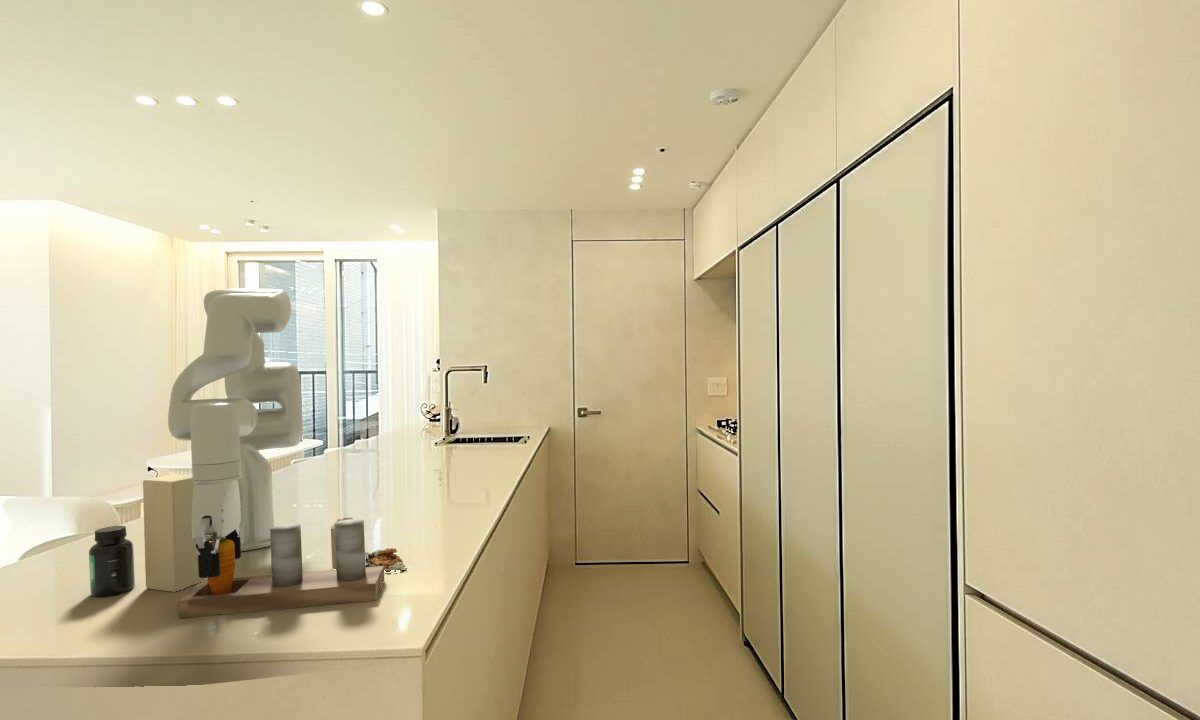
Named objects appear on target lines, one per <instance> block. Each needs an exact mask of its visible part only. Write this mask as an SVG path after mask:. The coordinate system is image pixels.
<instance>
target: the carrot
mask: <svg viewBox="0 0 1200 720" xmlns="http://www.w3.org/2000/svg"><path fill="white" fill-rule="evenodd" d="M224 538H225V537H224ZM224 538H222V539H220V541H219V545H218V549H217V553H218V552H219V554H220V575H219V576H218V577H208V578H207V580H208V582H209V586H210V589H211V591H212V593H213V595H218V594H229V593H230V590H231V587H232V583H233V578H234V576H235V569H236V568H235V567H236V566H235V565H236V564H235V563H236V559H235V545H234V542H233V541H232V540H229V539H224ZM210 544H211V545H212V544H213V541H210Z"/></svg>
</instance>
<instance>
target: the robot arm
mask: <svg viewBox="0 0 1200 720" xmlns="http://www.w3.org/2000/svg"><path fill="white" fill-rule="evenodd" d="M203 308H204V311H205V314H206V326H205V335H204V341H203V342H204V343H203V352H202V354H201V355H199V356H198V357H197V358H195V359H194V360H193V361H192V362H190V363H188V365H187V366H186V367H185V368H184V369H183V370H182V371H181V373H179V375H178V376H177V377H176V378H175V381H174V383H173V385H172V387H171V394H170V400H169V407H168V413H167V414H168V415H167V427H168V430H169V433H170V434H171V436H172V437H173V438H175V439H176V440H179V441H185V442H189V441H190V447H191V448H190V449H191V475H192V479H193V480H192V481H193V483H194V484H195V485H194V491H193V500H192V539H193V540H194V541H196V548H197V555H198V571H199V577H200V578H205V579H206V578H208V577H218V576H219V575H220V554H219V552H218V553H217V549H218V545H219V541H220V539H222V538H224V539H229V540H232V541H233V542H234V545H235V560H239V559H241V557H242V552H245V551H251V550H259V549H263V548H266V547H267V548H268V547H271V542H270V528H272V527H274V526H275V520H274V499H273V498H274V497H273V496H274V495H273V471H272V466H271V464H270V462H269V461H268V460H267V459H266V458H265V456H263V454H261V453H260V452H259V451H261V450H262V451H263V450H272V449H281V448H282V449H284V448H285V449H286V448H292V447H295V446H296V447H297V446H298V445H299V444H300V443H301V442H302V440H303V434H304V421H303V420H304V419H303V402H302V400H303V399H302V397H303V396H302V385H301V376H300V372H299V370H298V368H297V367H296V365H294V364H293V363H290V362H285V361H284V362H282V361H281V362H267V361H266V357H265V343H264V340H263V338H262V337H261V335H260V334H268V333H269V334H270V333H273V334H274V333H275V334H276V333H282V332H283V331H284V330H285V329H286V327H287V325H288V323H289V321H290V320H291V319H290V318H291V314H292V304H291V300H290V297H289V295H288V294H287V292H286V291H285V290H283V289H281V288H280V289H276V288H275V289H273V288H224V289H223V288H222V289H213V290H211V291H209V292H207V293H206V294H205V295H204V297H203ZM223 378H224V390H225V396H226V397H227V398H208V399H206V398H204V399H192V398H193V397H194V395H195V394H196V393H197V392H198V391H199V390H200V389H202V388H204V387H206V386H207V385H209V384H211V383H215V382H217V381H219V380H220V379H223ZM272 403H273V404H279V405H280V406H281V407H276V408H275V407H274V408H257V407H256V406H255V405H254V404H272ZM212 541H213V544H212V545H211V544H210V542H212Z"/></svg>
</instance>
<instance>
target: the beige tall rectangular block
mask: <svg viewBox="0 0 1200 720" xmlns="http://www.w3.org/2000/svg"><path fill="white" fill-rule="evenodd" d="M192 480H193V479H192V474H179V473H173V474H166V475H162V476H156V477H150V478H146V479H143V481H142V494H143V495H142V496H143V497H142V499H143V530H144V531H143V533H144V538H143V539H144V565H145V566H144V567H145V569H144V571H145V587H146V589H150V590H157V591H164V592H170V591H171V593H177V592H180V591H182V590H184V588H185V589H187V588H190V587H192V586H191V585H193V586H195V585H194V584H196V585H198V584H200V582H202V581H204V580H205V581H206V578H200V577H199V571H198V555H197V548H196V541H194V540H193V539H192V500H193V491H194V485H195V484H194V483H193V481H192ZM197 583H198V584H197ZM189 586H190V587H189ZM186 587H187V588H186ZM179 590H180V591H179ZM176 591H177V592H176Z"/></svg>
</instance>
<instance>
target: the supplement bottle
mask: <svg viewBox="0 0 1200 720" xmlns="http://www.w3.org/2000/svg"><path fill="white" fill-rule="evenodd" d="M127 535H128V534H127V527H126V526H125V525H114V526H113V525H112V526H107V527H106V526H105V527H102V528H98V529H96V530H94V542H96V543H95V544H93V545H92V546H91V547H90V548H89V550H88V563H89V587H90V589H89V590H90V595H91V596H92V597H94V598H95V597H96V598H106V597H107V598H108V597H113V596H117V595H122V594H124V593H127V592H130V591H131V590H133V589H134V587H135V585H136V584H135V583H136V582H135V580H136V579H135V557H134V555H135V553H134V544H133V542H132V541H131V540H130V539H127V538H126V537H127Z"/></svg>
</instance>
